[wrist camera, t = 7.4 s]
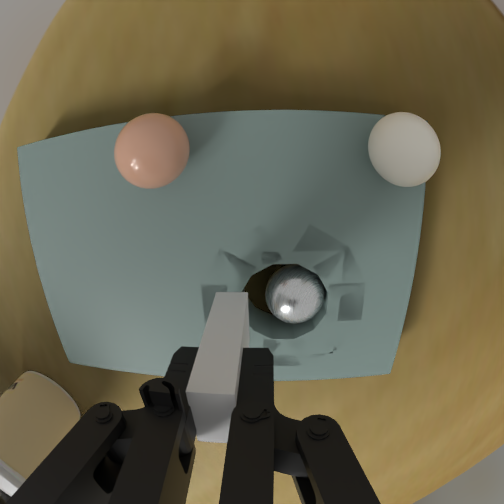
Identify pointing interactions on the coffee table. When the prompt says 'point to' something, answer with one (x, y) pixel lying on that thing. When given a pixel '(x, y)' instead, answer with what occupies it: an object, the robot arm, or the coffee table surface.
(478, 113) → the coffee table surface
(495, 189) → the coffee table surface
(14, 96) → the coffee table surface
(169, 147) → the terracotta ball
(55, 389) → the coffee cup
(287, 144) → the board
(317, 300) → the steel ball
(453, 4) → the coffee table surface
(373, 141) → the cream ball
